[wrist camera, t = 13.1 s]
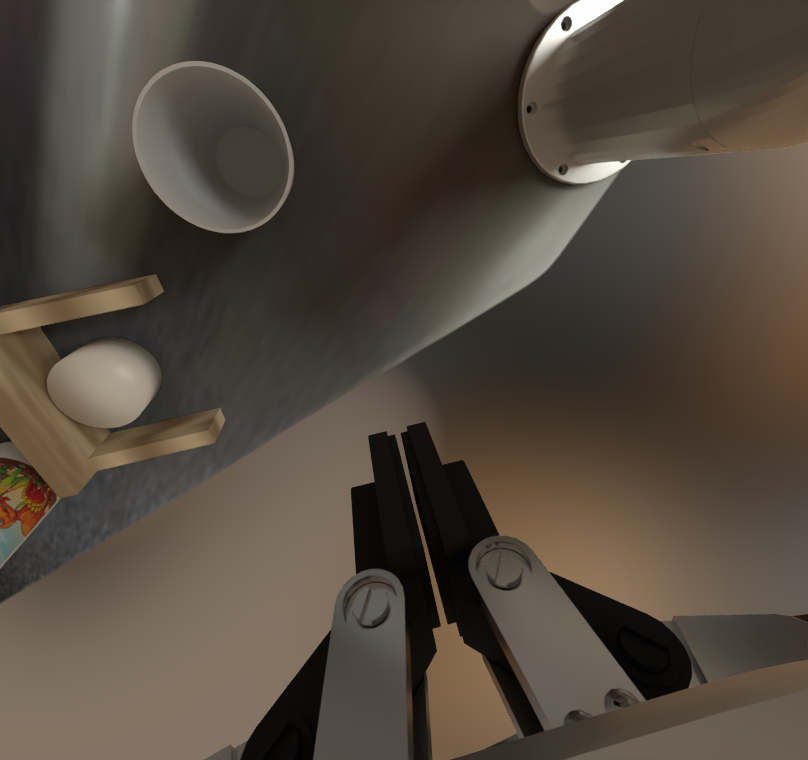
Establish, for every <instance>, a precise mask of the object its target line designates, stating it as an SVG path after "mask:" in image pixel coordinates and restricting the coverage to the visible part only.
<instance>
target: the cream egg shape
mask: <svg viewBox="0 0 808 760" xmlns="http://www.w3.org/2000/svg"><path fill="white" fill-rule="evenodd" d="M161 384H162V373H161V369H160V367H159V365H158V363H157V361H156V360H155V358H154V357H153V356H152V355H151V354H150V353H149V352H148V351H147V350H146V349H144V348H143V347H142V346H140V345H138V344H136V343H134V342H132V341H130V340H127V339H123V338H118V337H100V338H96V339H93V340H91V341H89V342H87V343H86V344H84V345H83V346H81V347H80V348H78V349H77V350H75V351H74V352H72V353H71V354H69V355H68V356H66V357H65V358H63V359H62V360H61V361H59V362H58V363H57V364H55V365H54V366H53V368H52V369H51V370H50V372H49V375H48V378H47V389H48V393H49V395H50V397H51V399H52V401H53V402H54V404H55V405H56V406H57V407H58V408H59V409H60V410H61V411H62V412H63V413H64V414H65V415H67V416H68V417H70V418H72V419H73V420H75V421H77V422H80V423H82V424H85V425H88V426H92V427H97V428H116V427H121V426H124V425H127V424H129V423H131V422H132V421H134V420H135V419H136V418H137V417H138V416H139V415H140V414H141V413H142V412H143V410H144V409H145V408H146V407H147V405H148V404H149V403H150V401H151V400H152V399H153V398H154V396H155V395H156V394H157V392H158V391H159V389H160V387H161Z"/></svg>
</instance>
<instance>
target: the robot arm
mask: <svg viewBox="0 0 808 760" xmlns="http://www.w3.org/2000/svg"><path fill="white" fill-rule="evenodd" d="M561 25H562V26H563V30H562V29H561ZM527 107H529V113H527ZM518 123H519V130H520V135H521V138H522V141H523V144H524V147H525V149H526V151H527V153H528V155H529V157H530V158H531V160H532V162H533V163H534V164H535V165H536V166H537V167H538V169H539V170H540V171H541V172H543V173H544V174H546V175H547V176H548V177H550V178H551V179H554V180H556V181H559V182H561V183H567V184H589V183H594V182H598V181H601V180H603V179H605V178H608V177H610V176H612V175H613V174H615V173H616V172H618V171H619V170H621V169H622V168H624V167H625V166H626V165H627V164H628V163H629V162H630V161H631V160H639V159H653V158H666V157H678V156H690V155H704V154H716V153H727V152H728V153H729V152H741V151H756V150H767V149H777V148H783V147H789V146H794V145H798V144H802V143H805V142H808V0H578V1H576V2H574V3H572V4H571V5H570V6H568V7H567V8H566V9H564V10H563V11H562V12H561V13H559V14H558V15H557V16H556V17H555V18H554V19H553V21H552V22H551V23H550V24H549V25H548V26H547V27H546V28H545V30H544V31H543V33H542V34H541V35H540V37H539V38H538V40H537V41H536V43H535V45H534V47H533V49H532V51H531V53H530V55H529V57H528V59H527V62H526V65H525V68H524V71H523V74H522V78H521V82H520V88H519V94H518ZM559 167H560V171H559V172H558V169H559ZM401 436H402V441H403V446H404V450H405V455H406V460H407V464H408V469H409V473H410V477H411V482H412V487H413V492H414V496H415V501H416V505H417V509H418V513H419V517H420V521H421V525H422V528H423V532H424V536H425V540H426V543H427V547H428V551H429V555H430V558H431V562H432V566H433V570H434V573H435V578H436V581H437V585H438V589H439V593H440V596H441V600H442V604H443V608H444V612H445V615H446V619H447V623H448V624H451V623H455V622H456V623H457V627H458V631H459V634H460V636H462V637H463V640H464V643H465V644H467V645H468V646H470V647H472V648H473V649H475V650H476V651H478V652H479V653H481V654H482V658H483V661H484V663H485V665H486V667H487V669H488V671H489V674H490V676H491V678H492V680H493V682H494V684H495V686H496V689H497V691H498V693H499V694H500V697H501V699H502V701H503V704H504V706H505V708H506V710H507V712H508V714H509V716H510V719H511V721H512V723H513V725H514V727H515V729H516V731H517V733H518V736H519V738H520V739H517V740H514V741H511V742H508V743H504V744H501V745H498V746H494V747H491V748H488V749H485V750H481V751H478V752H475V753H471V754H468V755H465V756H462V757H459V758H455V759H452V760H808V623H807V622H804V621H802V620H799V619H797V618H794V617H792V616H786V615H779V614H745V615H699V616H673V619H672V621H659V620H657V619H655V618H653V617H652V616H650V615H648V614H646V613H643V612H641V611H638V610H636V609H634V608H632V607H629V606H627V605H625V604H623V603H620V602H618V601H615V600H613V599H611V598H609V597H606V596H604V595H602V594H600V593H597V592H595V591H592V590H590V589H588V588H586V587H583V586H581V585H578V584H576V583H574V582H572V581H569V580H567V579H565V578H562V577H560V576H558V575H555V574H553V573H551V572H549V571H548V570H547V568H546V567H545V566H544V565H543V563H542V562H541V561H540V559H539V558H538V557H537V555H536V554H535V553H534V551H532V549H531V548H530V547H529V546H528V545H526V544H525V543H524V542H522V541H520V540H518V539H516V538H512V537H509V536H500V535H499V533H498V531H497V529H496V527H495V525H494V523H493V521H492V519H491V516H490V514H489V512H488V510H487V508H486V506H485V504H484V502H483V500H482V498H481V495H480V493H479V491H478V489H477V487H476V485H475V483H474V481H473V479H472V477H471V475H470V472H469V470H468V468H467V466H466V464H465V463H464V461H463V460H460V461H457V462H452V463H448V464H444V465H442V463H441V461H440V458H439V456H438V453H437V451H436V448H435V446H434V443H433V440H432V438H431V435H430V433H429V430H428V428H427V425H426V423H425V422H423V423H419V424H414V425H411V426H407V432H403V433H401ZM368 438H369V445H370V452H371V459H372V466H373V472H374V479H375V482H373V483H369V484H365V485H361V486H357V487H353V488H351V499H352V514H353V530H354V547H355V563H356V575H355V576H353V577H352V578H350V579H349V580H348V581H347V582H346V583H345V584H344V586H343V587H342V589H341V590H340V592H339V594H338V596H337V600H336V603H335V607H334V615H333V621H332V628H331V630H330V631H329V633H328V634H327V636H326V637H325V638H324V639H323V641H322V642H321V643H320V645H319V646H318V647H317V648H316V650H315V651H314V652H313V654H312V655H311V656H310V658H309V659H308V660H307V662H306V663H305V664H304V666H303V667H302V668H301V670H300V671H299V672H298V673H297V675H296V676H295V677H294V679H293V680H292V681H291V682H290V684H289V685H288V686H287V688H286V689H285V690H284V692H283V693H282V694H281V696H280V697H279V698H278V699H277V701H276V702H275V703H274V705H273V706H272V707H271V709H270V710H269V711H268V713H267V714H266V715H265V717H264V718H263V719H262V720H261V722H260V723H259V724H258V726H257V727H256V729H255V730H254V732H253V733H252V735H251V737H250V738H249V740H248V741H246V742H244V743H243V744H241V745H239V746H237V747H236V748H233V747H232V746H231V745H229V746H227V747H225V748H224V749H222V750H220V751H218V752H217V753H215V754H213V755H211V756H210V757H208V758H206V759H204V760H432V744H431V729H430V713H429V696H428V680H427V673H426V670H427V668H428V666H429V665H430V663H431V661H432V659H433V657H434V655H435V653H436V652H437V649H436V645H435V644H436V643H435V639H434V635H433V630H432V629H434V628H437V627H440V626H441V625H440V620H439V615H438V611H437V607H436V602H435V598H434V593H433V589H432V584H431V580H430V575H429V571H428V566H427V562H426V557H425V552H424V548H423V544H422V540H421V536H420V532H419V528H418V524H417V520H416V516H415V512H414V508H413V504H412V500H411V496H410V492H409V488H408V484H407V480H406V477H405V472H404V468H403V464H402V460H401V456H400V452H399V449H398V444H397V441H396V437H395V435H391V436H388V435H387V432H381V433H377V434H373V435H369V436H368Z"/></svg>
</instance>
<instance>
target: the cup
mask: <svg viewBox="0 0 808 760" xmlns="http://www.w3.org/2000/svg"><path fill="white" fill-rule="evenodd" d="M132 136H133V144H134V149H135V153H136V156H137V160H138V162H139V165H140V167H141V170H142V172H143V174H144V176H145V178H146V180H147V181H148V183H149V184H150V186H151V187H152V189H153V190H154V192H155V193H156V194H157V195H158V197H159V198H160V199H161V200H162V201H163V202H164V203H165V204H166V205H167V206H168V207H169V208H170V209H171V210H172V211H174V212H175V213H176V214H177V215H179V216H180V217H182V218H183V219H185V220H186V221H188V222H190V223H192V224H194V225H196V226H198V227H201V228H204V229H207V230H210V231H214V232H220V233H240V232H245V231H249V230H252V229H254V228H257V227H259V226H261V225H262V224H264V223H266V222H267V221H268V220H270V219H271V218H272V217H273V216H274V215H275V214H276V213H277V212H278V210H279V209H280V208H281V206H282V205H283V203H284V201H285V200H286V198H287V196H288V194H289V192H290V190H291V187H292V183H293V177H294V158H293V152H292V148H291V144H290V141H289V138H288V135H287V132H286V129H285V127H284V125H283V122H282V120H281V118H280V116H279V115H278V113H277V111H276V110H275V108H274V107H273V105H272V104H271V103H270V101H269V100H268V99H267V98H266V96H265V95H264V94H263V93H262V92H261V91H260V90H259V89H258V88H257V87H256V86H255V85H254V84H252V83H251V82H250V81H249V80H247V79H246V78H244V77H243V76H241V75H240V74H238V73H236V72H235V71H233V70H231V69H228V68H226V67H224V66H221V65H218V64H214V63H210V62H203V61H187V62H181V63H177V64H174V65H171V66H169V67H167V68H165V69H163V70H161V71H160V72H158V73H157V74H156V75H154V76H153V77H152V78H151V79H150V80H149V81H148V83H147V84H146V85H145V87H144V88H143V90H142V91H141V93H140V95H139V97H138V100H137V102H136V105H135V109H134V114H133V121H132Z"/></svg>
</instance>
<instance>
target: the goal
mask: <svg viewBox="0 0 808 760" xmlns="http://www.w3.org/2000/svg"><path fill="white" fill-rule="evenodd" d="M163 292H164V290H163V288H162V286H161V284H160V282H159V279H158V277H157V275H156V274H154V275H149V276H144V277H139V278H134V279H130V280H125V281H120V282H115V283H110V284H105V285H101V286H96V287H91V288H86V289H81V290H76V291H71V292H67V293H62V294H57V295H52V296H47V297H42V298H37V299H33V300H28V301H23V302H18V303H13V304H8V305H4V306H1V307H0V427H1V428H2V430H3V431H4V432H5V433H6V434H7V436H8V437H9V438H10V439H11V440H12V442H13V443H14V444H15V445H16V447H17V448H18V449H19V450H20V451H21V453H22V454H23V455H24V456H25V457H26V459H27V460H28V461H29V462H30V463H31V465H32V466H33V467H34V468H35V469H36V471H37V472H38V473H39V474H40V476H41V477H42V478H43V479H44V480H45V482H46V483H47V484H48V485H49V486H50V488H51V489H52V490H53V491H54V492H55V494H56V495H57V496H58V497H59V499H61V498H65V497H69V496H73V495H77V494H79V492H80V491H81V490H82V489H83V488H84V486H85V485H86V484H87V483H88V481H89V480H90V479H91V478H92V477H93V475H94V474H95V473H96V472H97V471H99V470H103V469H108V468H112V467H116V466H120V465H124V464H129V463H133V462H137V461H141V460H146V459H150V458H154V457H158V456H162V455H167V454H171V453H175V452H179V451H183V450H188V449H192V448H196V447H200V446H204V445H209V444H213V443H215V442H216V440H217V438H218V436H219V433H220V431H221V429H222V427H223V424H224V422H225V418H224V415H223V413H222V411H221V409H220V408H216V409H212V410H207V411H203V412H199V413H195V414H190V415H186V416H182V417H177V418H173V419H169V420H164V421H160V422H156V423H151V424H147V425H143V426H138V427H134V428H130V429H125V430H121V431H117V432H112V433H110V432H109V430H108V429H107V428H97V427H92V426H88V425H85V424H82V423H80V422H77V421H75V420H73V419H72V418H70V417H68V416H67V415H65V414H64V413H63V412H62V411H61V410H60V409H59V408H58V407H57V406H56V405H55V404H54V402H53V401H52V399H51V397H50V395H49V393H48V389H47V378H48V375H49V372H50V370H51V369H52V368H53V366H54V365H55V364H57V363H58V362H59V361H61V360H62V359H61V358H60V356H59V355H58V353H57V352H56V350H55V349H54V347H53V346H52V344H51V343H50V341H49V340H48V338H47V337H46V335H45V334H44V332H43V331H42V329H41V328H40V326H44V325H49V324H53V323H58V322H63V321H67V320H72V319H77V318H82V317H86V316H91V315H96V314H101V313H105V312H110V311H115V310H120V309H124V308H129V307H134V306H139V305H143V304H146V303H147V302H149V301H150V300H152V299H153V298H155V297H156V296H158V295H160V294H161V293H163Z"/></svg>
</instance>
